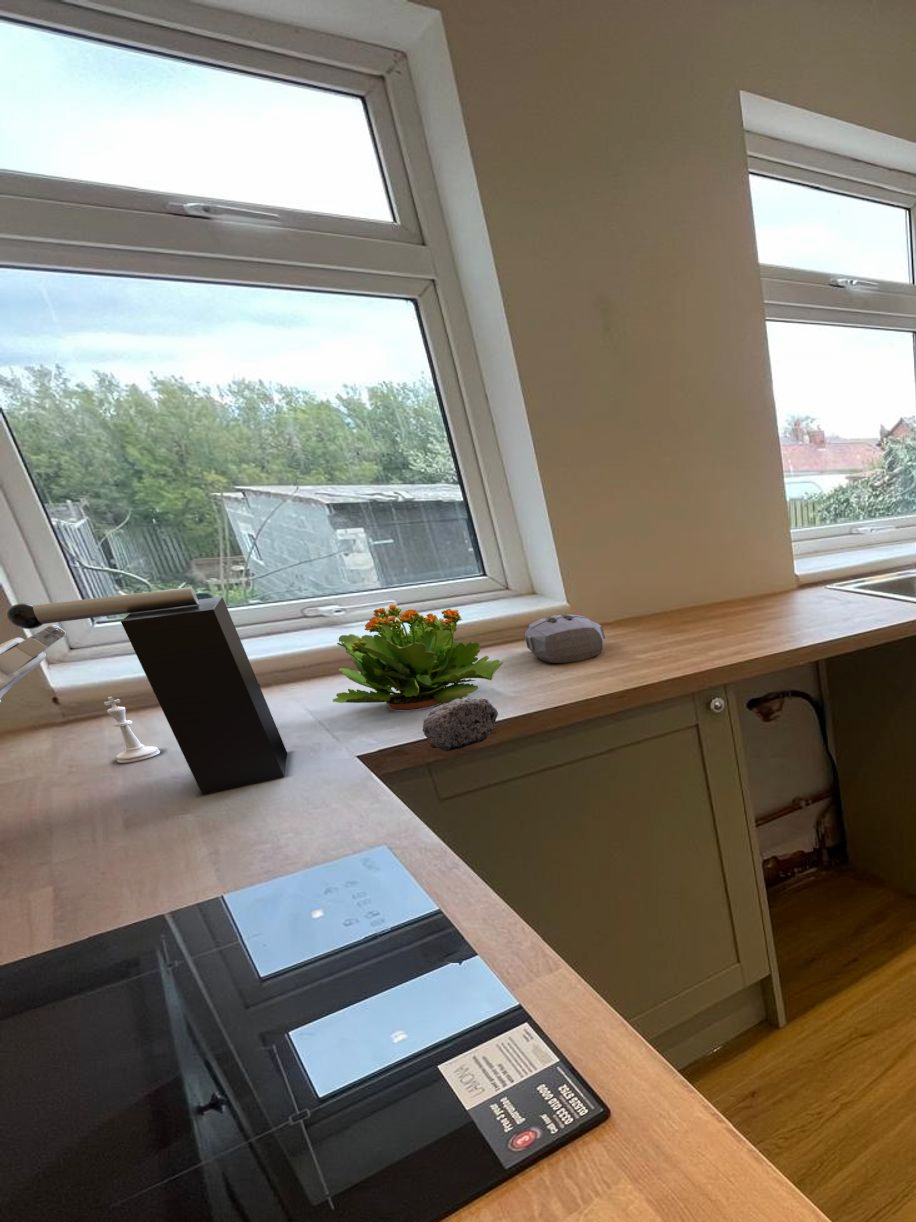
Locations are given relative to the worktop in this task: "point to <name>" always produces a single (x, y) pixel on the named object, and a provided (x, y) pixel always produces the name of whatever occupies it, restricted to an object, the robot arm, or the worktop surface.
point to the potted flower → (412, 661)
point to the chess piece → (129, 736)
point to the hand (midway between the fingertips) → (50, 635)
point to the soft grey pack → (564, 638)
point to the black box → (208, 694)
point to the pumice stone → (460, 723)
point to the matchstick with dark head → (99, 607)
